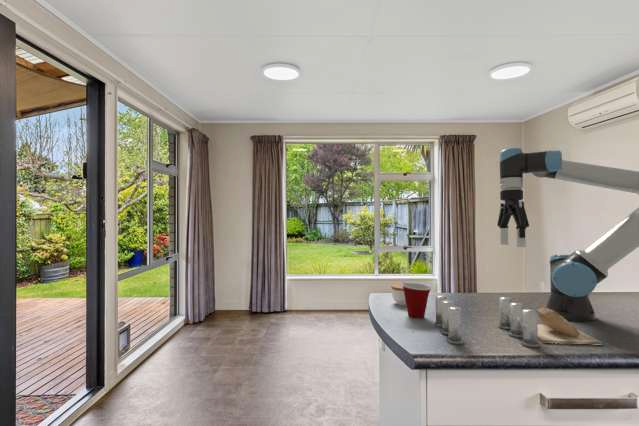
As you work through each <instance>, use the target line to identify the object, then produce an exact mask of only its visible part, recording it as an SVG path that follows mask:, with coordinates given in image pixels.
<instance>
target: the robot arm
mask: <svg viewBox="0 0 639 426" xmlns="http://www.w3.org/2000/svg"><path fill="white" fill-rule="evenodd" d="M524 174H532V175H533V176H534V177H536V178H547V179H553V180H559V181H566V182H571V183H576V184H581V185H582V184H583V185H586V186H587V185H588V186H593V187H599V188H604V189H608V190H609V189H611V190H614V191H621V192H626V193H627V192H628V193H632V194H637V195H638V196H639V171H637V170H631V169H624V168H619V167H611V166H605V165H597V164H592V163H585V162H584V163H583V162H576V161H571V160H565V159H563V154H562V151H561V150H557V149H556V150H551V149H549V150H545V151H537V152H536V151H535V152H524V151H523V149H522V148H521V147H512V148H506V149H503V150H501V151H500V153H499V177H500V178H499V179H500V181H499V182H498V183H499V185H500V186H499V187H500V192H499V193H500V194H499V195H500V196H499V198H500V201H504V202H503V203H502V202H501V203H500V209H499V213H498V219H497V220H498V221H497V227H499V233H500V235H499V236H500V237H499V239H500V244H499V245H502V246H504V245H506V246H507V245H508V246H509V222H510V220H511V217H513V220H514V222H515V225H516V227H515V229H516V231H515V233H516V234H515V236H516V238H515V240H516V248H526V247H527V246H526V241H527V240H526V229H527V228H529V227H530V223H529V218H528V216H527V213H526V208H525V201H522V200H524V191H523V190H522V189H524V177H523V175H524ZM637 248H639V207H637V208H636V209H635V210H633V211H632V212H631V213H629V215H627V216H626V217H625V218H623V219H622V220H621V221H619V222H618V223H617V224H616V225H614V226H613V227H612V228H611V229H609V230H608V231H606V232H605V233H604V234H603V235H602V236H600V237H599V238H598V239H596V240H595V241H594V242H593V243H591V244H590V245H589V246H587V248H585V249H584V250H581V249H579V250H578V249H577V250H574V252H572V253H570V254H552V255H550V258H549V267H550V269H549V271H550V273H549V277H550V279H549V281H550V294H549V296H548V300H547V302H546V305H545V308H549V309H550V310H554V311H556V312H557V313H558V314H559V315H561V316H562V317H564V319H566V320H567V321H573V322H593V321H592V320H594V321H596V313H595V311H594V307H593V305H592V303H591V300H590V298H589V297H590V296H589V295H590V294H591V293H592V292H594V290H596V287H597V285H598V284H599V283H601V282H603V281H604V280H605V279H606V278H608V277H609V269H610V268H612V267H613V266H615V265H616V264H617V263H619V262H620V261H621V260H623V259H624V258H626V257H627V256H628V255H630V254H631V253H632V252H634V251H636V249H637Z"/></svg>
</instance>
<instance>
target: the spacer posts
mask: <svg viewBox="0 0 639 426" xmlns="http://www.w3.org/2000/svg"><path fill="white" fill-rule="evenodd" d="M512 299H513V298H512V297H509V296H500V297H499V302H498V303H499V323H498V326H497V327H498V328H499V329H501V330H506V331H509V332H508V335H509V337H512V338H515V339H522V340H521V343H520V344H521V345H522V346H524V347H526V348H529V349H539V348H540V343H539V342H538V341H539V340H538V333H537V324H538V312H537V310H536V309H532V308H531V309H530V308H524V304H523V303H522V302H515V301H514V302H513V301H512ZM454 304H455V303H454V301H451V300H448V296H446V295H441V294H440V295H435V321H434V327H437V328H441V329H440V330H439V331H440V334H441V335H444V336H447V338H446V343H448V344H449V345H455V346H461V345H463V344H464V340H463V338H462V333H463V332H462V307H458V306H454Z"/></svg>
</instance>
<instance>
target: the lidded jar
mask: <svg viewBox="0 0 639 426" xmlns="http://www.w3.org/2000/svg"><path fill="white" fill-rule="evenodd" d="M403 283H406V282H405V281H403V282H402V283H395V284H392V285H391V286H390V287H391V295H392V298H393V300H394V302H395V303H396V304H397V305H398V304H399V306H403V305H406V301H405V294H404V290H403V286H402V284H403Z"/></svg>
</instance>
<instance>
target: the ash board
mask: <svg viewBox="0 0 639 426" xmlns="http://www.w3.org/2000/svg"><path fill="white" fill-rule="evenodd" d="M578 331H579V333H580V334H579V336H578V337H570V336H568V335H565V334H563V333H561V332H559V331H557V330H556V331H555V330H553V329H551V328H550V327H548V326H547V325H545V324H543V323H542V324H539V323H537V333H538V341H539V342H540V343H542V344H545V343H552V344H551V345H570V344H602V345H603V341H600V340H599V339H598V338H597V339H596V338H594V337H592V336H590V335H588V334H587V333H584V332H583V331H580V330H578ZM553 343H555V344H553ZM558 343H559V344H558Z"/></svg>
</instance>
